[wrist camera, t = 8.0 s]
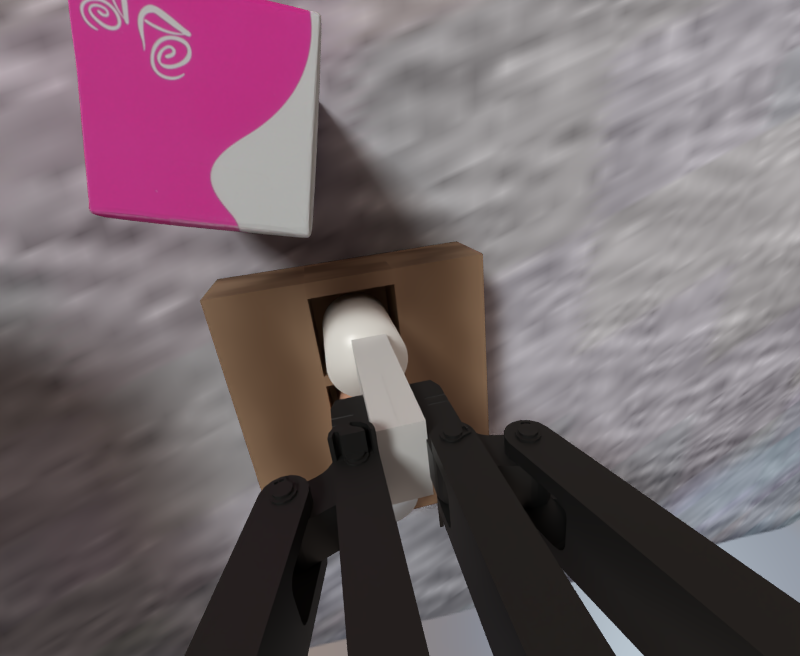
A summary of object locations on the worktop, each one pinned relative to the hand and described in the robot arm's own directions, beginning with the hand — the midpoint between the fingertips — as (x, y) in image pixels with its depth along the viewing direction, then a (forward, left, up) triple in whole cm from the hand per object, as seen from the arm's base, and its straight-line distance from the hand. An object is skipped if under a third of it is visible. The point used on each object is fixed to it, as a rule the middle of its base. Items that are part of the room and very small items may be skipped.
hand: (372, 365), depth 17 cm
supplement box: (-3, +9, -8) cm, 13 cm away
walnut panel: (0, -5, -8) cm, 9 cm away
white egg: (0, 0, -4) cm, 4 cm away
